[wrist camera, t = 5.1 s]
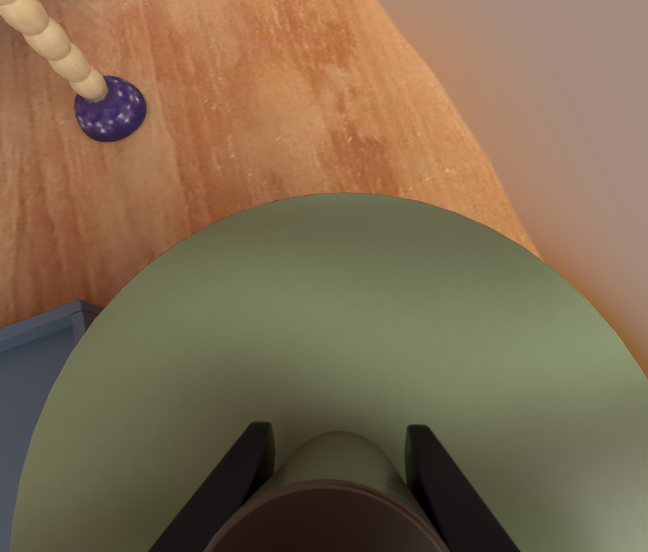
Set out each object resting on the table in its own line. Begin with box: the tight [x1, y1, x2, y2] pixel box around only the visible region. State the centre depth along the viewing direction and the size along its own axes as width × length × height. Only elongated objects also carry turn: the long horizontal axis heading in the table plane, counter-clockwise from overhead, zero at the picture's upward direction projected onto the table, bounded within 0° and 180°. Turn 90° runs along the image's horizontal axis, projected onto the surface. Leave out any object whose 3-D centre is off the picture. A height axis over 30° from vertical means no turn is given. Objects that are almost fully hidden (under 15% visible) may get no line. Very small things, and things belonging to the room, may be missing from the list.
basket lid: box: [10, 192, 648, 552], centre depth 7 cm, size 16×16×7 cm
